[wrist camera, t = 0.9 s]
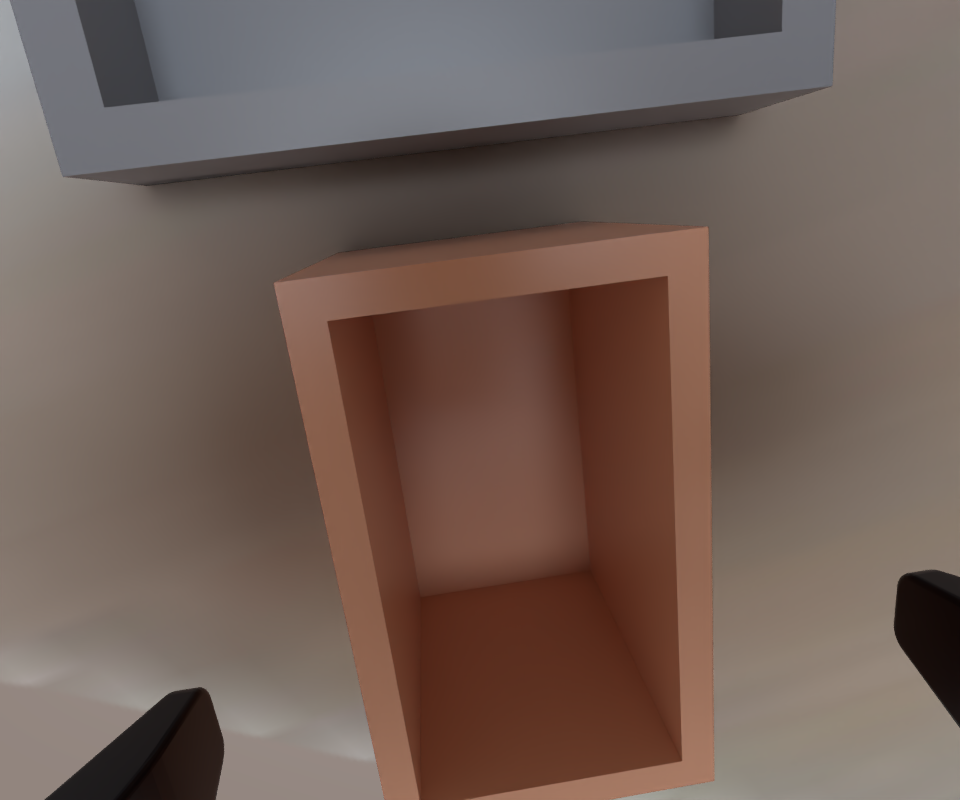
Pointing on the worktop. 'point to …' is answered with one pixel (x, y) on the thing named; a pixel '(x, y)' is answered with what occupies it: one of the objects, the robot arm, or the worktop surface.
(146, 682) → the worktop surface
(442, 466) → the box
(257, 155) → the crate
